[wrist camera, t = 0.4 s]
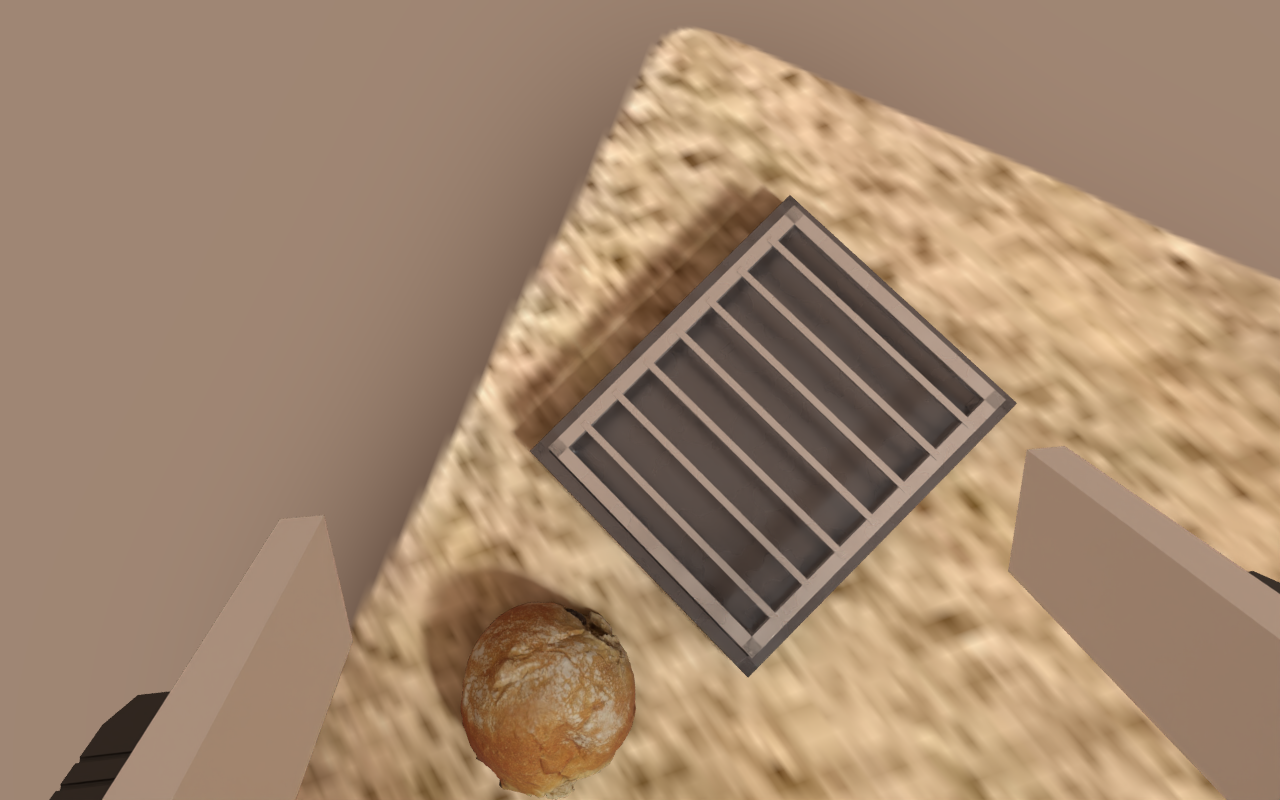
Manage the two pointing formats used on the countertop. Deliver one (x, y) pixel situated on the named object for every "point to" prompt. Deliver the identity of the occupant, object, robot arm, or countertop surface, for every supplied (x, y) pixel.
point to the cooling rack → (771, 433)
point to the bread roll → (547, 698)
